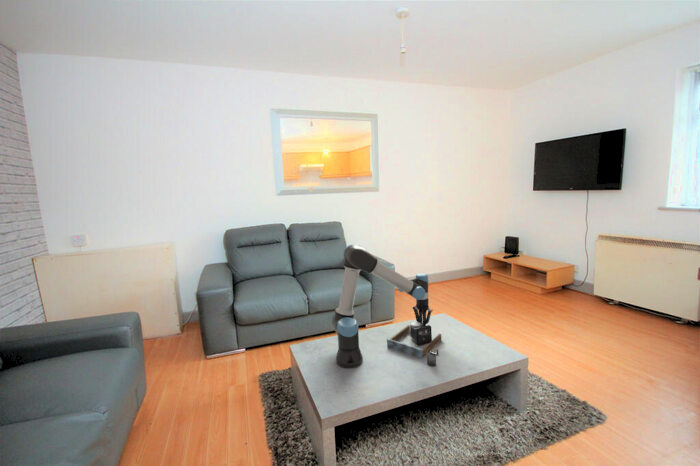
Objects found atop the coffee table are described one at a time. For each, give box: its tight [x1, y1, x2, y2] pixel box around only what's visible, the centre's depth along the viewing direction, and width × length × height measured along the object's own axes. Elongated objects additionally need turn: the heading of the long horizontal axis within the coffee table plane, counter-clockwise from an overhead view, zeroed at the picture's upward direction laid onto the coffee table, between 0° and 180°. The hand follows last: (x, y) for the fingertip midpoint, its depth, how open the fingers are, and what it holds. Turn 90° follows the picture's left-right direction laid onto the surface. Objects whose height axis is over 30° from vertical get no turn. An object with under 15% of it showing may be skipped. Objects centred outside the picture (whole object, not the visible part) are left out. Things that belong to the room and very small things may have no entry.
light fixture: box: [409, 321, 433, 347], centre depth 197 cm, size 11×13×11 cm
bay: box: [386, 324, 442, 359], centre depth 194 cm, size 23×26×5 cm
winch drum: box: [426, 349, 440, 367], centre depth 170 cm, size 6×5×9 cm
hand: (422, 332), depth 203 cm, fingers closed
